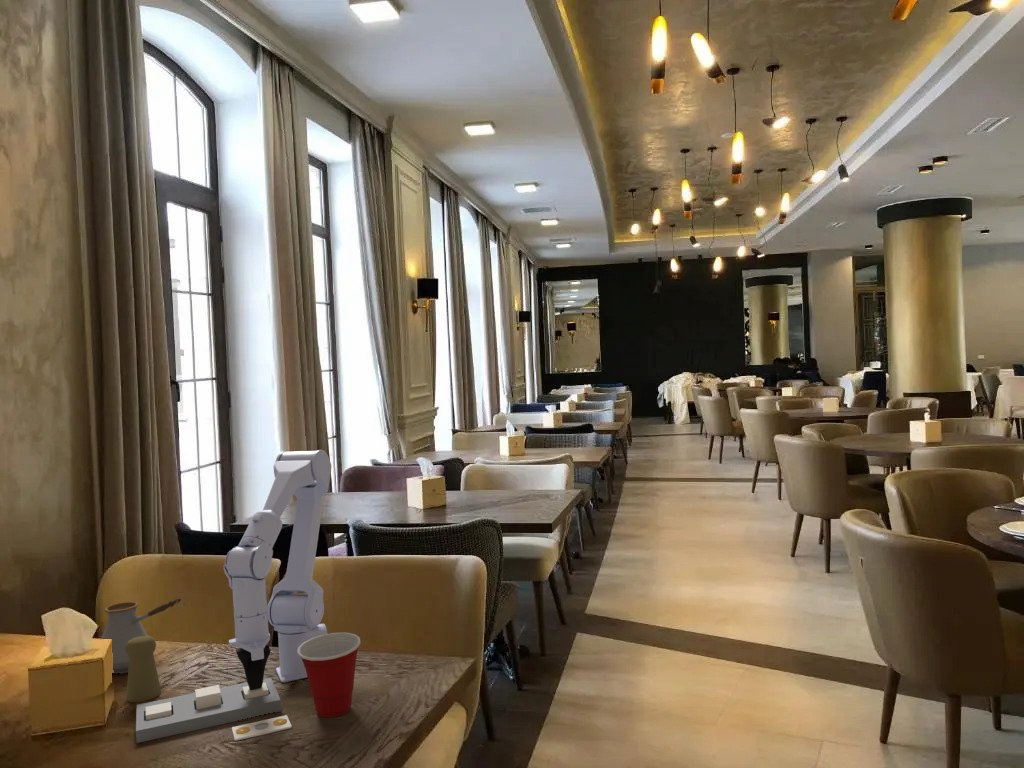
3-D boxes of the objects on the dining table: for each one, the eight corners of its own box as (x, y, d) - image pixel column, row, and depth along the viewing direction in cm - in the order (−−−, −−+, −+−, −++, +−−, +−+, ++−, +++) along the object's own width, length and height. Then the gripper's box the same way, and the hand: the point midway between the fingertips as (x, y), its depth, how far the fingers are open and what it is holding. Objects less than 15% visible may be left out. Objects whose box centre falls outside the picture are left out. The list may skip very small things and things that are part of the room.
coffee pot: (81, 675, 162) (76, 602, 162) (125, 655, 173) (120, 587, 173) (165, 683, 156) (160, 607, 155) (205, 662, 166) (201, 590, 166)
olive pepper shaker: (147, 702, 146) (143, 643, 146) (118, 701, 148) (115, 642, 147) (168, 689, 152) (164, 632, 152) (140, 688, 153) (136, 632, 153)
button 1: (171, 715, 139) (170, 701, 139) (172, 724, 135) (171, 710, 135) (146, 721, 137) (145, 706, 137) (146, 730, 134) (145, 715, 134)
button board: (271, 687, 150) (271, 677, 150) (281, 711, 139) (280, 699, 139) (137, 716, 140) (136, 704, 140) (136, 743, 130) (135, 731, 129)
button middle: (219, 698, 142) (218, 684, 142) (221, 706, 139) (220, 692, 139) (195, 703, 141) (194, 689, 141) (196, 711, 137) (196, 697, 137)
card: (287, 716, 137) (286, 713, 137) (291, 727, 132) (291, 724, 132) (231, 729, 133) (231, 726, 133) (234, 741, 128) (234, 737, 128)
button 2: (266, 695, 146) (265, 682, 146) (269, 703, 142) (268, 689, 142) (243, 700, 144) (242, 687, 144) (245, 708, 140) (245, 694, 140)
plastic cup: (287, 721, 135) (283, 651, 135) (324, 695, 145) (320, 630, 145) (342, 728, 131) (338, 655, 131) (376, 701, 141) (372, 634, 141)
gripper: (223, 606, 148) (228, 679, 148) (231, 627, 135) (236, 707, 135) (263, 600, 151) (267, 671, 151) (274, 620, 138) (278, 697, 138)
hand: (255, 687), depth 143 cm, fingers closed
